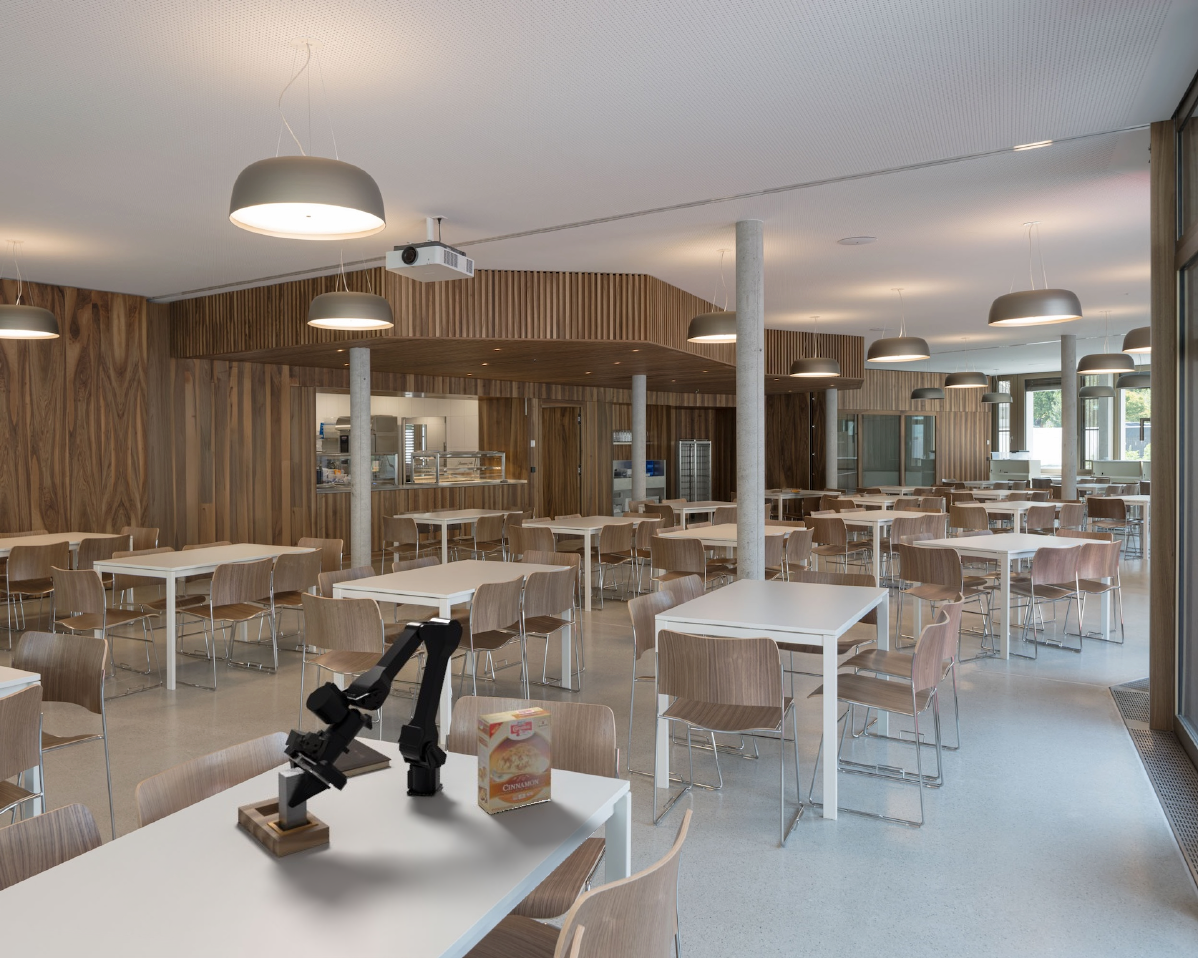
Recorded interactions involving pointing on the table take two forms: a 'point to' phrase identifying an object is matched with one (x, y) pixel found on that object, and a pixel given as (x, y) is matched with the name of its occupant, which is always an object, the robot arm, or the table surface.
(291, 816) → the peg
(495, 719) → the coffeecake box
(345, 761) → the hardcover book
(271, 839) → the wooden peg holder
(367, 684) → the robot arm
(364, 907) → the table surface
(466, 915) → the table surface
